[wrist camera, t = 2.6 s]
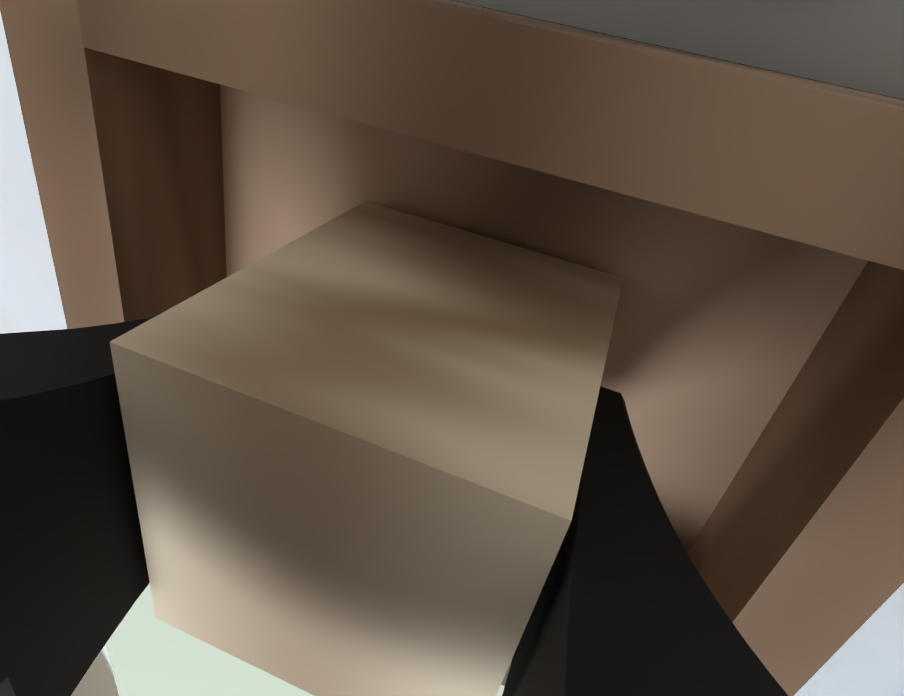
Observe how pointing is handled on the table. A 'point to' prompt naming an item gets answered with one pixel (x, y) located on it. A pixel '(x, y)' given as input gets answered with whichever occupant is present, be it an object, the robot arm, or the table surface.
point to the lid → (184, 662)
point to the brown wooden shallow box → (534, 236)
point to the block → (366, 451)
